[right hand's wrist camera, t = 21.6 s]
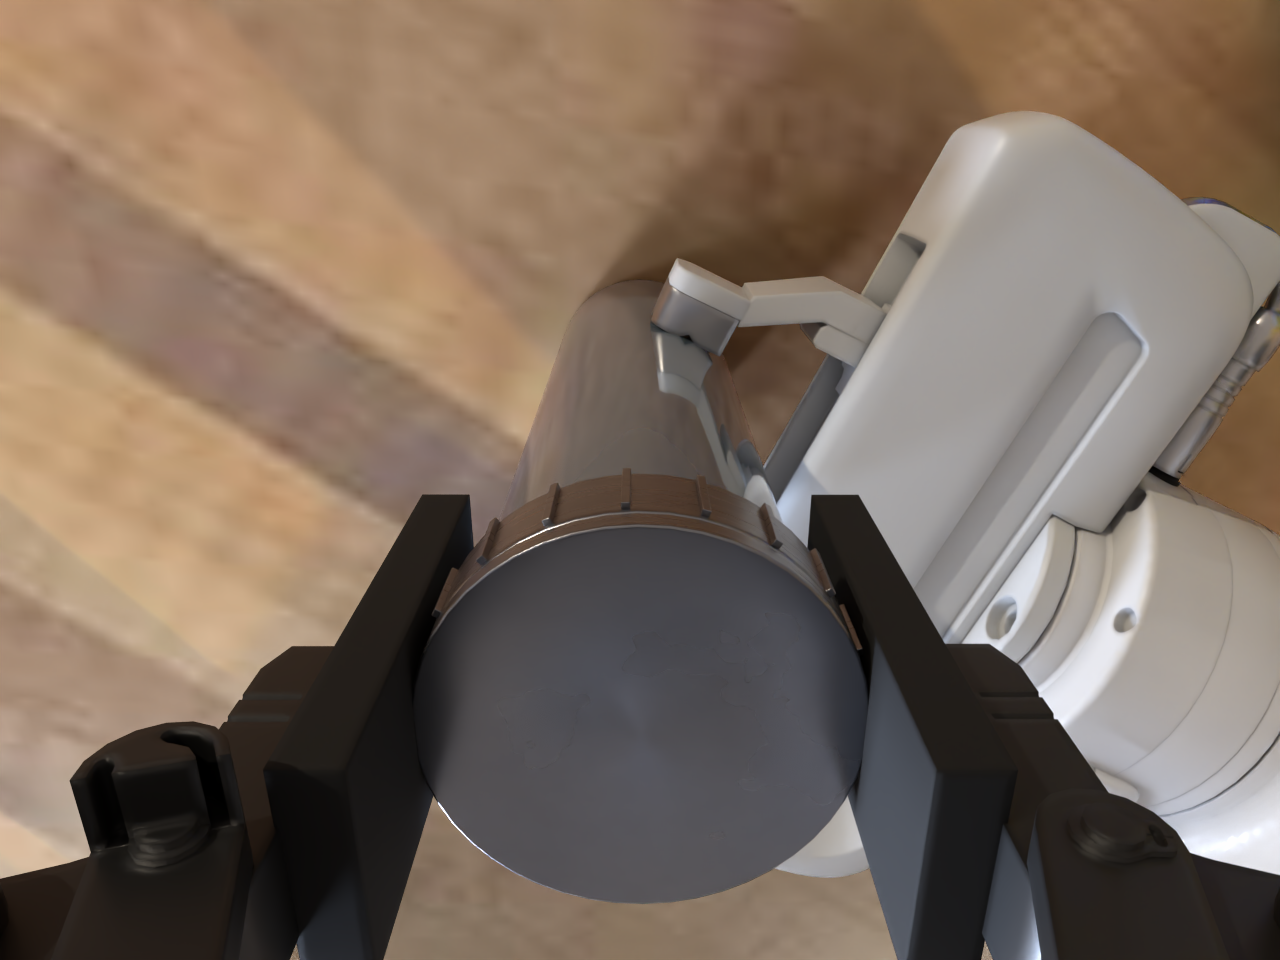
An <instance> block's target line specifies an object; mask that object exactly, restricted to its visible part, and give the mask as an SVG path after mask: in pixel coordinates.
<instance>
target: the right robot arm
mask: <svg viewBox="0 0 1280 960" xmlns="http://www.w3.org/2000/svg"><path fill="white" fill-rule="evenodd" d="M473 548H474V546H473V533H472V520H471V508H470V495H422V496H421V498H420V500H419V501H418V503H417V505H416V507H415V508H414V510H413V512H412V514H411V515H410V517H409V519H408V520H407V522H406V524H405V526H404V527H403V529H402V531H401V532H400V534H399V536H398V538H397V539H396V541H395V543H394V545H393V546H392V548H391V550H390V551H389V553H388V555H387V557H386V558H385V560H384V562H383V563H382V565H381V567H380V569H379V570H378V572H377V574H376V576H375V577H374V579H373V581H372V582H371V584H370V586H369V588H368V589H367V591H366V593H365V594H364V596H363V598H362V600H361V601H360V603H359V605H358V606H357V608H356V610H355V612H354V613H353V615H352V617H351V619H350V620H349V622H348V624H347V625H346V627H345V629H344V631H343V632H342V634H341V636H340V637H339V639H338V641H337V643H336V644H335V646H292V647H291V648H289V649H288V650H286V651H285V652H284V653H282V654H281V655H279V656H278V657H277V658H275V659H274V660H272V661H271V662H270V663H268V664H267V665H265V666H264V667H263V668H261V669H260V671H259V672H258V674H257V675H256V677H255V678H254V679H253V681H252V682H251V684H250V685H249V687H248V688H247V690H246V691H245V692H244V694H243V699H242V700H239V701H238V703H237V704H236V705H235V707H234V708H233V710H232V711H231V713H230V714H229V716H228V721H227V722H224V723H223V724H222V726H221V727H220V729H219V730H218V729H217V728H216V727H214V726H210V725H206V724H202V723H197V722H175V723H164V724H160V725H156V726H152V727H148V728H144V729H140V730H137V731H134V732H132V733H130V734H128V735H126V736H123V737H121V738H119V739H117V740H115V741H113V742H110V743H108V744H107V745H105V746H104V747H103V748H101V749H100V750H98V751H97V752H96V753H94V754H93V755H92V756H90V757H89V758H88V759H86V760H85V761H84V762H83V763H82V765H81V766H80V767H79V769H78V770H77V771H76V773H75V774H74V775H73V777H72V778H71V779H70V783H71V787H72V790H73V794H74V797H75V800H76V804H77V807H78V810H79V814H80V817H81V820H82V824H83V827H84V831H85V834H86V837H87V841H88V844H89V847H90V851H91V854H90V856H89V857H87V858H84V859H80V860H77V861H74V862H70V863H67V864H62V865H58V866H54V867H49V868H45V869H41V870H36V871H32V872H28V873H24V874H19V875H15V876H11V877H6V878H2V879H0V960H290V957H291V955H292V953H293V950H294V948H295V945H296V943H297V948H298V953H299V958H300V960H383V959H384V955H385V952H386V949H387V946H388V942H389V939H390V936H391V933H392V929H393V926H394V923H395V919H396V916H397V913H398V910H399V906H400V903H401V900H402V897H403V893H404V890H405V887H406V883H407V880H408V877H409V874H410V870H411V867H412V864H413V861H414V857H415V854H416V851H417V848H418V844H419V841H420V838H421V834H422V831H423V828H424V825H425V821H426V818H427V815H428V812H429V808H430V805H431V802H432V798H433V794H432V792H431V790H430V788H429V786H428V785H427V783H426V780H425V778H424V775H423V772H422V770H421V767H420V764H419V757H418V749H417V740H416V731H415V723H414V714H413V703H412V691H413V683H414V679H415V675H416V672H417V668H418V665H419V661H420V658H421V655H422V653H423V650H424V648H425V646H426V643H427V641H428V638H429V636H430V633H431V631H432V628H433V626H434V623H435V621H436V619H437V618H436V617H433V616H432V613H433V610H434V608H435V606H436V603H437V601H438V598H439V596H440V594H441V591H442V589H443V587H444V584H445V582H446V580H447V577H448V575H449V573H450V571H451V569H452V568H455V569H457V570H459V568H460V567H461V565H462V564H463V562H464V560H465V559H466V557H467V556H468V554H469V553H470V552H471V551H472V549H473ZM807 548H808V549H809V550H810V551H811V550H813V549H814V548H816V549H817V551H818V552H819V554H820V556H821V558H822V561H823V563H824V566H825V568H826V570H827V573H828V575H829V578H830V580H831V583H832V585H833V587H834V590H835V592H836V595H835V596H836V599H837V601H838V604H839V605H842V604H844V605H845V607H846V609H847V612H848V614H849V617H850V619H851V621H852V624H853V626H854V628H855V631H856V633H857V636H858V638H859V640H860V643H861V645H862V647H863V656H860V659H861V662H862V665H863V669H864V672H865V675H866V678H867V685H868V692H869V704H868V714H867V723H866V732H865V740H864V749H863V757H862V764H861V767H860V770H859V773H858V776H857V778H856V780H855V782H854V784H853V786H852V788H851V790H850V792H849V794H848V799H849V802H850V805H851V809H852V812H853V815H854V818H855V822H856V825H857V828H858V832H859V835H860V838H861V841H862V845H863V848H864V851H865V854H866V858H867V861H868V864H869V868H870V871H871V874H872V877H873V881H874V884H875V887H876V890H877V894H878V897H879V900H880V904H881V907H882V910H883V913H884V917H885V920H886V923H887V926H888V930H889V933H890V936H891V939H892V943H893V946H894V949H895V953H896V956H897V959H898V960H981V957H982V952H983V947H984V942H985V941H986V944H987V946H988V948H989V951H990V953H991V956H992V958H993V960H1280V875H1277V874H1273V873H1269V872H1264V871H1260V870H1256V869H1251V868H1247V867H1243V866H1238V865H1234V864H1230V863H1225V862H1221V861H1217V860H1213V859H1209V858H1206V857H1203V856H1199V855H1196V854H1193V853H1190V852H1189V850H1188V849H1187V847H1186V846H1185V844H1184V842H1183V841H1182V839H1181V838H1180V836H1179V835H1178V833H1177V832H1176V830H1174V829H1173V828H1172V827H1171V826H1170V825H1169V824H1167V823H1166V822H1165V821H1164V820H1163V819H1161V818H1160V817H1159V816H1158V815H1157V814H1155V813H1154V812H1153V811H1151V810H1149V809H1147V808H1145V807H1143V806H1141V805H1139V804H1137V803H1135V802H1133V801H1131V800H1129V799H1128V798H1125V797H1121V796H1118V795H1114V794H1111V793H1109V792H1108V791H1107V789H1106V788H1105V787H1104V785H1103V784H1102V782H1101V781H1100V779H1099V778H1098V777H1097V775H1096V774H1095V772H1094V771H1093V769H1092V768H1091V766H1090V765H1089V764H1088V762H1087V761H1086V759H1085V758H1084V756H1083V755H1082V754H1081V752H1080V751H1079V749H1078V748H1077V746H1076V745H1075V743H1074V742H1073V741H1072V739H1071V738H1070V736H1069V735H1068V733H1067V732H1066V731H1065V729H1064V728H1063V726H1062V725H1061V723H1060V722H1059V720H1058V719H1054V713H1053V712H1052V710H1051V709H1050V708H1049V706H1048V705H1047V703H1046V702H1045V700H1044V699H1043V697H1039V692H1038V690H1037V689H1036V687H1035V686H1034V685H1033V683H1032V682H1031V680H1030V679H1029V677H1028V676H1027V674H1026V673H1025V672H1024V670H1023V669H1022V667H1021V666H1020V665H1018V664H1017V663H1016V662H1014V661H1013V660H1011V659H1010V658H1009V657H1007V656H1006V655H1004V654H1003V653H1002V652H1000V651H999V650H997V649H996V648H995V647H993V646H992V645H990V644H945V643H944V641H943V639H942V638H941V636H940V634H939V632H938V631H937V629H936V627H935V626H934V624H933V622H932V620H931V619H930V617H929V615H928V613H927V612H926V610H925V608H924V607H923V605H922V603H921V601H920V600H919V598H918V596H917V595H916V593H915V591H914V589H913V588H912V586H911V584H910V582H909V581H908V579H907V577H906V576H905V574H904V572H903V570H902V569H901V567H900V565H899V564H898V562H897V560H896V558H895V557H894V555H893V553H892V551H891V550H890V548H889V546H888V545H887V543H886V541H885V539H884V538H883V536H882V534H881V533H880V531H879V529H878V527H877V526H876V524H875V522H874V521H873V519H872V517H871V515H870V514H869V512H868V510H867V508H866V507H865V505H864V503H863V502H862V500H861V498H860V496H859V495H811V507H810V519H809V532H808V545H807Z"/></svg>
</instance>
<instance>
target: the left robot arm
mask: <svg viewBox="0 0 1280 960" xmlns="http://www.w3.org/2000/svg"><path fill="white" fill-rule="evenodd" d="M1267 297H1268V298H1267ZM1266 299H1267V301H1266V303H1265V306H1264V307H1262V306H1261V305H1262V304H1263V303H1264V301H1265V300H1266ZM651 315H652V318H651V320H652V322H653V323H654V324H655V325H656V326H658V327H660V328H661V329H663V330H665V331H666V332H668V333H671V334H674V335H677V336H685V335H689V336H690V337H691V339H692V341H693V343H694V344H696V345H697V346H699V347H700V348H702V349H704V350H706V351H709V352H711V353H713V354H715V355H717V356H719V357H720V356H721V354H722V352H723V350H724V348H725V346H726V345H727V343H728V341H729V339H730V337H731V336H732V334H733V332H734V330H735V328H736V326H737V325H738V327H750V326H767V325H783V324H800V328H801V330H802V331H803V332H804V333H805V335H806V336H807V337H808V338H809V340H810V341H811V342H812V344H813V345H814V346H815V347H816V348H817V349H819V350H821V351H823V352H825V353H827V355H826V357H825V358H824V360H823V362H822V364H821V365H820V367H819V369H818V371H817V372H816V374H815V376H814V378H813V380H812V381H811V383H810V385H809V387H808V388H807V390H806V392H805V394H804V395H803V397H802V399H801V401H800V403H799V404H798V406H797V408H796V410H795V411H794V413H793V415H792V417H791V418H790V420H789V422H788V424H787V425H786V427H785V429H784V431H783V433H782V434H781V436H780V438H779V440H778V441H777V443H776V445H775V447H774V448H773V450H772V452H771V454H770V456H769V457H768V459H767V461H766V463H765V464H764V466H763V468H764V471H765V473H766V476H767V479H768V482H769V485H770V487H771V490H772V493H773V496H774V499H775V502H776V504H777V507H778V510H779V513H780V516H781V518H782V521H783V524H784V525H785V526H786V527H788V528H789V529H790V530H791V531H792V532H793V533H794V534H795V535H796V536H797V537H798V538H799V539H800V540H801V542H802V543H803V544H804V545H805V546H806V547H807V545H808V532H809V519H810V507H811V495H859V496H860V498H861V500H862V502H863V503H864V505H865V507H866V508H867V510H868V512H869V514H870V515H871V517H872V519H873V521H874V522H875V524H876V526H877V527H878V529H879V531H880V533H881V534H882V536H883V538H884V539H885V541H886V543H887V545H888V546H889V548H890V550H891V551H892V553H893V555H894V557H895V558H896V560H897V562H898V564H899V565H900V567H901V569H902V570H903V572H904V574H905V576H906V577H907V579H908V581H909V582H910V584H911V586H912V588H913V589H914V591H915V593H916V595H917V596H918V598H919V600H920V601H921V603H922V605H923V607H924V608H925V610H926V612H927V613H928V615H929V617H930V619H931V620H932V622H933V624H934V626H935V627H936V629H937V631H938V632H939V634H940V636H941V638H942V639H943V641H944V643H945V644H990V645H992V646H993V647H995V648H996V649H997V650H999V651H1000V652H1002V653H1003V654H1004V655H1006V656H1007V657H1009V658H1010V659H1011V660H1013V661H1014V662H1016V663H1017V664H1018V665H1020V666H1021V667H1022V669H1023V670H1024V672H1025V673H1026V674H1027V676H1028V677H1029V679H1030V680H1031V682H1032V683H1033V685H1034V686H1035V687H1036V689H1037V690H1038V692H1039V697H1043V699H1044V700H1045V702H1046V703H1047V705H1048V706H1049V708H1050V709H1051V710H1052V712H1053V713H1054V719H1058V720H1059V722H1060V723H1061V725H1062V726H1063V728H1064V729H1065V731H1066V732H1067V733H1068V735H1069V736H1070V738H1071V739H1072V741H1073V742H1074V743H1075V745H1076V746H1077V748H1078V749H1079V751H1080V752H1081V754H1082V755H1083V756H1084V758H1085V759H1086V761H1087V762H1088V764H1089V765H1090V766H1091V768H1092V769H1093V771H1094V772H1095V774H1096V775H1097V777H1098V778H1099V779H1100V781H1101V782H1102V784H1103V785H1104V787H1105V788H1106V789H1107V791H1108V792H1109V793H1111V794H1114V795H1118V796H1121V797H1125V798H1128V799H1129V800H1131V801H1133V802H1135V803H1137V804H1139V805H1141V806H1143V807H1145V808H1147V809H1149V810H1151V811H1153V812H1154V813H1155V814H1157V815H1158V816H1159V817H1160V818H1161V819H1163V820H1164V821H1165V822H1166V823H1167V824H1169V825H1170V826H1171V827H1172V828H1173V829H1174V830H1176V832H1177V833H1178V835H1179V836H1180V838H1181V839H1182V841H1183V842H1184V844H1185V846H1186V847H1187V849H1188V850H1189V852H1190V853H1193V854H1196V855H1199V856H1203V857H1206V858H1209V859H1213V860H1217V861H1221V862H1225V863H1230V864H1234V865H1238V866H1243V867H1247V868H1251V869H1256V870H1260V871H1264V872H1269V873H1273V874H1277V875H1280V535H1278V534H1277V533H1275V532H1274V531H1272V530H1270V529H1269V528H1267V527H1265V526H1264V525H1262V524H1260V523H1258V522H1256V521H1255V520H1252V519H1250V518H1248V517H1246V516H1244V515H1242V514H1240V513H1238V512H1236V511H1234V510H1232V509H1230V508H1228V507H1226V506H1224V505H1222V504H1220V503H1218V502H1216V501H1214V500H1211V499H1209V498H1207V497H1205V496H1203V495H1201V494H1199V493H1197V492H1195V491H1193V490H1191V489H1189V488H1187V487H1185V486H1184V485H1182V484H1181V483H1179V482H1178V480H1179V479H1180V478H1181V476H1182V475H1183V474H1184V473H1185V471H1186V470H1187V469H1188V467H1189V466H1190V465H1191V463H1192V462H1193V461H1194V459H1195V458H1196V457H1197V455H1198V454H1199V453H1200V451H1201V450H1202V449H1203V447H1204V446H1205V445H1206V443H1207V442H1208V441H1209V439H1210V438H1211V437H1212V435H1213V434H1214V433H1215V431H1216V430H1217V428H1218V427H1219V425H1220V424H1221V422H1222V421H1223V419H1222V417H1225V415H1226V413H1227V412H1228V410H1229V409H1228V407H1229V406H1231V405H1232V403H1233V402H1234V400H1235V399H1234V397H1235V396H1237V395H1238V394H1239V393H1240V391H1241V390H1242V388H1241V387H1242V386H1245V385H1246V383H1247V382H1248V381H1249V379H1250V378H1251V377H1252V375H1253V374H1254V373H1255V371H1257V372H1259V371H1260V370H1261V369H1262V368H1263V367H1264V366H1265V365H1266V364H1267V363H1268V361H1269V360H1270V359H1271V358H1272V356H1273V355H1274V354H1275V352H1276V351H1277V349H1278V348H1279V346H1280V236H1279V235H1278V234H1277V233H1276V232H1275V231H1274V230H1273V229H1272V228H1270V227H1268V226H1267V225H1265V224H1263V223H1261V222H1259V221H1258V220H1256V219H1254V218H1252V217H1251V216H1249V215H1247V214H1245V213H1243V212H1242V211H1240V210H1238V209H1236V208H1235V207H1233V206H1231V205H1229V204H1228V203H1226V202H1223V201H1220V200H1217V199H1213V198H1205V197H1192V198H1185V199H1179V198H1178V197H1177V196H1176V195H1174V194H1173V193H1172V192H1171V191H1170V190H1168V189H1167V188H1166V187H1165V186H1163V185H1162V184H1161V183H1160V182H1159V181H1157V180H1156V179H1155V178H1154V177H1152V176H1151V175H1150V174H1148V173H1147V172H1146V171H1144V170H1143V169H1142V168H1140V167H1139V166H1138V165H1136V164H1135V163H1134V162H1132V161H1131V160H1129V159H1128V158H1127V157H1125V156H1124V155H1122V154H1121V153H1120V152H1118V151H1117V150H1115V149H1114V148H1112V147H1111V146H1109V145H1108V144H1106V143H1105V142H1103V141H1102V140H1100V139H1099V138H1097V137H1096V136H1094V135H1093V134H1091V133H1089V132H1088V131H1086V130H1084V129H1083V128H1081V127H1079V126H1078V125H1076V124H1074V123H1072V122H1071V121H1069V120H1067V119H1065V118H1062V117H1060V116H1056V115H1052V114H1049V113H1043V112H1037V111H1014V112H1008V113H1003V114H998V115H995V116H991V117H988V118H984V119H981V120H978V121H975V122H972V123H969V124H966V125H964V126H962V127H960V128H958V129H957V130H956V131H955V132H954V133H953V134H952V135H951V137H950V138H949V140H948V141H947V143H946V145H945V146H944V148H943V150H942V152H941V153H940V155H939V157H938V159H937V161H936V162H935V164H934V166H933V168H932V169H931V171H930V173H929V175H928V176H927V178H926V180H925V182H924V183H923V185H922V187H921V189H920V191H919V192H918V194H917V196H916V198H915V199H914V201H913V203H912V205H911V206H910V208H909V210H908V212H907V213H906V215H905V217H904V219H903V221H902V222H901V224H900V226H899V228H898V229H897V231H896V233H895V235H894V236H893V238H892V240H891V242H890V244H889V245H888V247H887V249H886V251H885V252H884V254H883V256H882V258H881V259H880V261H879V263H878V265H877V266H876V268H875V270H874V272H873V274H872V275H871V277H870V279H869V281H868V282H867V284H866V286H865V288H864V289H863V291H862V293H861V294H859V293H857V292H854V291H852V290H850V289H848V288H846V287H844V286H842V285H840V284H838V283H836V282H834V281H832V280H830V279H828V278H826V277H824V276H815V277H804V278H793V279H782V280H771V281H760V282H749V283H744V285H743V286H742V287H740V286H738V285H736V284H734V283H732V282H730V281H728V280H726V279H724V278H722V277H720V276H718V275H716V274H713V273H711V272H709V271H707V270H705V269H703V268H701V267H699V266H697V265H695V264H693V263H691V262H688V261H685V260H682V259H679V258H677V259H676V261H675V263H674V265H673V267H672V269H671V272H670V274H669V276H668V277H667V279H666V282H665V284H664V286H663V288H662V290H661V293H660V295H659V297H658V299H657V301H656V303H655V306H654V308H653V310H652V312H651ZM775 869H778V870H782V871H786V872H790V873H794V874H799V875H804V876H811V877H821V878H834V877H844V876H850V875H853V874H857V873H860V872H862V871H865V870H867V869H869V864H868V861H867V858H866V854H865V851H864V848H863V845H862V841H861V838H860V835H859V832H858V828H857V825H856V822H855V818H854V815H853V812H852V809H851V805H850V802H849V799H848V796H847V798H846V800H845V801H844V803H843V804H842V805H841V807H840V808H839V810H838V811H837V812H836V814H835V815H834V817H833V818H832V819H831V821H830V822H829V823H828V824H827V825H826V826H825V827H824V828H823V829H822V830H821V831H820V833H819V834H818V835H817V836H816V837H815V838H814V839H813V840H812V841H811V842H809V843H808V844H807V845H806V846H805V847H803V848H802V849H801V850H800V851H799V852H797V853H796V854H795V855H794V856H792V857H791V858H789V859H788V860H786V861H785V862H783V863H782V864H780V865H779V866H777V867H776V868H775Z"/></svg>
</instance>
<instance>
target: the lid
mask: <svg viewBox="0 0 1280 960" xmlns="http://www.w3.org/2000/svg"><path fill="white" fill-rule="evenodd" d="M835 595H836V592H835V590H834V587H833V585H832V583H831V580H830V578H829V575H828V573H827V570H826V568H825V566H824V563H823V561H822V558H821V556H820V554H819V552H818V551H817V549H816V548H814V549H813V550H811V551H810V550H809V549H808V548H807V547H806V546H805V545H804V544H803V543H802V542H801V540H800V539H799V538H798V537H797V536H796V535H795V534H794V533H793V532H792V531H791V530H790V529H789V528H788V527H786V526H785V525H784V524H783V523H781V522H780V521H779V520H778V519H777V518H775V517H774V515H773V512H772V509H771V506H769V505H768V504H766V503H764V504H763V505H762V506H761V507H759V506H757V505H756V504H754V503H752V502H751V501H749V500H748V499H745V498H743V497H741V496H739V495H736V494H734V493H732V492H730V491H727V490H725V489H723V488H720V487H717V486H713V485H710V484H707V483H706V478H705V476H701V475H697V477H696V480H693V479H687V478H681V477H675V476H670V475H657V474H631V468H623V469H622V475H611V476H604V477H599V478H594V479H589V480H584V481H580V482H577V483H574V484H571V485H568V486H565V487H562V488H560V486H559V484H558V483H555V484H552V485H550V488H549V492H548V493H547V494H544V495H542V496H540V497H538V498H536V499H534V500H532V501H530V502H528V503H526V504H525V505H523V506H522V507H520V508H519V509H517V510H516V511H514V512H513V513H511V514H509V515H508V516H506V517H505V518H504V519H503V520H502V521H499V520H498V519H497V518H494V519H493V520H492V521H491V522H490V524H489V526H488V529H487V532H486V534H485V536H484V537H483V538H482V539H481V540H480V541H479V543H478V544H477V545H476V546H475V547H474V548H473V549H472V551H471V552H470V553H469V554H468V556H467V557H466V559H465V560H464V562H463V564H462V565H461V567H460V568H459V570H457V569H455V568H452V569H451V571H450V573H449V575H448V577H447V580H446V582H445V584H444V587H443V589H442V591H441V594H440V596H439V598H438V601H437V603H436V606H435V608H434V610H433V613H432V616H433V617H436V618H437V619H436V621H435V623H434V626H433V628H432V631H431V633H430V636H429V638H428V641H427V643H426V646H425V648H424V650H423V653H422V655H421V658H420V661H419V665H418V668H417V672H416V675H415V679H414V683H413V691H412V703H413V714H414V723H415V731H416V740H417V749H418V757H419V764H420V767H421V770H422V772H423V775H424V778H425V780H426V783H427V785H428V786H429V788H430V790H431V792H432V794H433V795H434V797H435V799H436V801H437V803H438V804H439V806H440V807H441V808H442V810H443V811H444V812H445V814H446V815H447V816H448V818H449V819H450V820H451V822H452V823H453V824H454V825H455V826H456V827H457V828H458V829H459V830H460V831H461V832H462V833H463V835H464V836H465V837H466V838H467V839H468V840H469V841H470V842H471V843H473V844H474V845H475V846H476V847H478V848H479V849H480V850H481V851H483V852H484V853H485V854H486V855H488V856H489V857H490V858H491V859H493V860H495V861H496V862H498V863H499V864H501V865H503V866H504V867H506V868H507V869H509V870H511V871H512V872H514V873H516V874H518V875H520V876H522V877H524V878H526V879H529V880H531V881H533V882H535V883H537V884H539V885H542V886H545V887H548V888H551V889H554V890H556V891H559V892H562V893H566V894H570V895H574V896H578V897H582V898H586V899H592V900H599V901H606V902H613V903H631V904H651V903H668V902H676V901H682V900H689V899H695V898H700V897H703V896H707V895H711V894H715V893H719V892H722V891H725V890H728V889H731V888H733V887H736V886H739V885H741V884H744V883H746V882H749V881H751V880H753V879H755V878H757V877H759V876H761V875H763V874H765V873H767V872H769V871H771V870H772V869H774V868H776V867H777V866H779V865H780V864H782V863H783V862H785V861H786V860H788V859H789V858H791V857H792V856H794V855H795V854H796V853H797V852H799V851H800V850H801V849H802V848H803V847H805V846H806V845H807V844H808V843H809V842H811V841H812V840H813V839H814V838H815V837H816V836H817V835H818V834H819V833H820V831H821V830H822V829H823V828H824V827H825V826H826V825H827V824H828V823H829V822H830V821H831V819H832V818H833V817H834V815H835V814H836V812H837V811H838V810H839V808H840V807H841V805H842V804H843V803H844V801H845V800H846V798H847V796H848V794H849V792H850V790H851V788H852V786H853V784H854V782H855V780H856V778H857V776H858V773H859V770H860V767H861V764H862V757H863V749H864V740H865V732H866V723H867V714H868V704H869V692H868V685H867V678H866V675H865V672H864V669H863V665H862V662H861V659H860V656H863V647H862V645H861V643H860V640H859V638H858V636H857V633H856V631H855V628H854V626H853V624H852V621H851V619H850V617H849V614H848V612H847V609H846V607H845V605H844V604H842V605H839V604H838V601H837V599H836V596H835Z"/></svg>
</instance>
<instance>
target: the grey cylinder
mask: <svg viewBox="0 0 1280 960" xmlns="http://www.w3.org/2000/svg"><path fill="white" fill-rule="evenodd" d="M664 284H665V283H662V282H657V281H652V280H628V281H624V282H619V283H616V284H613V285H610V286H608V287H606V288H604V289H602V290H600V291H598V292H597V293H595V294H594V295H592V296H591V297H590V298H589V299H587V300H586V301H585V302H584V303H583V304H582V305H581V306H580V308H579V309H578V310H577V311H576V312H575V314H574V316H573V317H572V319H571V320H570V322H569V324H568V327H567V329H566V331H565V334H564V337H563V340H562V343H561V345H560V348H559V351H558V354H557V357H556V359H555V362H554V365H553V368H552V371H551V374H550V376H549V379H548V382H547V385H546V388H545V390H544V393H543V396H542V399H541V402H540V405H539V407H538V410H537V413H536V416H535V419H534V421H533V424H532V427H531V430H530V433H529V436H528V438H527V441H526V444H525V447H524V450H523V453H522V455H521V458H520V461H519V464H518V467H517V469H516V472H515V475H514V478H513V481H512V484H511V486H510V489H509V492H508V495H507V498H506V500H505V503H504V506H503V509H502V512H501V515H500V517H499V521H502V520H503V519H504V518H505V517H506V516H508V515H509V514H511V513H513V512H514V511H516V510H517V509H519V508H520V507H522V506H523V505H525V504H526V503H528V502H530V501H532V500H534V499H536V498H538V497H540V496H542V495H544V494H547V493H548V492H549V488H550V485H552V484H555V483H558V484H559V486H560V488H562V487H565V486H568V485H571V484H574V483H577V482H580V481H584V480H589V479H594V478H599V477H604V476H611V475H622V469H623V468H631V474H657V475H670V476H675V477H681V478H687V479H693V480H696V477H697V475H701V476H705V478H706V483H707V484H710V485H713V486H717V487H720V488H723V489H725V490H727V491H730V492H732V493H734V494H736V495H739V496H741V497H743V498H745V499H748V500H749V501H751V502H752V503H754V504H756V505H757V506H759V507H761V506H762V505H763V504H764V503H766V504H768V505H769V506H771V509H772V512H773V515H774V517H775V518H777V519H778V520H779V521H780V522H781V523H783V521H782V518H781V516H780V513H779V510H778V507H777V504H776V502H775V499H774V496H773V493H772V490H771V487H770V485H769V482H768V479H767V476H766V473H765V471H764V468H763V465H762V462H761V459H760V456H759V454H758V451H757V448H756V445H755V442H754V440H753V437H752V434H751V431H750V428H749V425H748V423H747V420H746V417H745V414H744V411H743V409H742V406H741V403H740V400H739V397H738V394H737V392H736V389H735V386H734V383H733V380H732V378H731V375H730V372H729V369H728V366H727V363H726V361H725V358H724V355H723V352H722V354H721V356H720V357H719V356H717V355H715V354H713V353H711V352H709V351H706V350H704V349H702V348H700V347H699V346H697V345H696V344H694V343H693V341H692V339H691V337H690V336H689V335H685V336H677V335H674V334H671V333H668V332H666V331H665V330H663V329H661V328H660V327H658V326H656V325H655V324H654V323H653V322H652V320H651V318H652V315H651V312H652V310H653V308H654V306H655V303H656V301H657V299H658V297H659V295H660V293H661V290H662V288H663V286H664Z"/></svg>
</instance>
